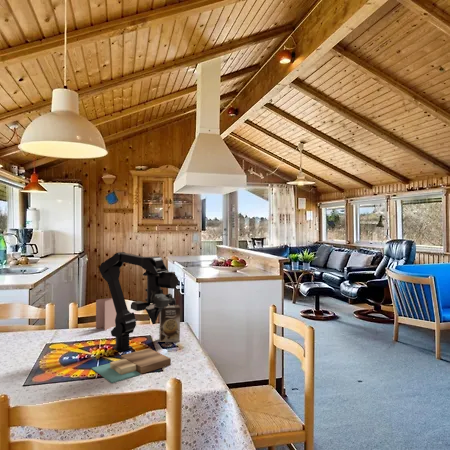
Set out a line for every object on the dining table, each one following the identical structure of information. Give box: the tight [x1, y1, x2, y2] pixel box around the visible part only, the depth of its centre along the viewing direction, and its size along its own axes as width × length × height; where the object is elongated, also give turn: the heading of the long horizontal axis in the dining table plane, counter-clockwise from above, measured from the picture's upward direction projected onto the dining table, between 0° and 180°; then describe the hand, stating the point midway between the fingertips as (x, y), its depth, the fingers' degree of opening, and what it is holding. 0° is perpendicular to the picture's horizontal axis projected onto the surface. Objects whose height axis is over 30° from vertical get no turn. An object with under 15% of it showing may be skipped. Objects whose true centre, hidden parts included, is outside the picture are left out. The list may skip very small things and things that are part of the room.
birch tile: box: [109, 358, 136, 375], centre depth 140 cm, size 9×6×2 cm, turn 42°
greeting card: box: [95, 297, 116, 331], centre depth 197 cm, size 11×7×15 cm, turn 130°
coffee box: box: [158, 304, 181, 343], centre depth 176 cm, size 9×6×16 cm
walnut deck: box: [120, 347, 172, 375], centre depth 147 cm, size 16×13×2 cm
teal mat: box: [91, 362, 141, 384], centre depth 139 cm, size 17×11×1 cm, turn 42°
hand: (153, 324), depth 156 cm, fingers closed
